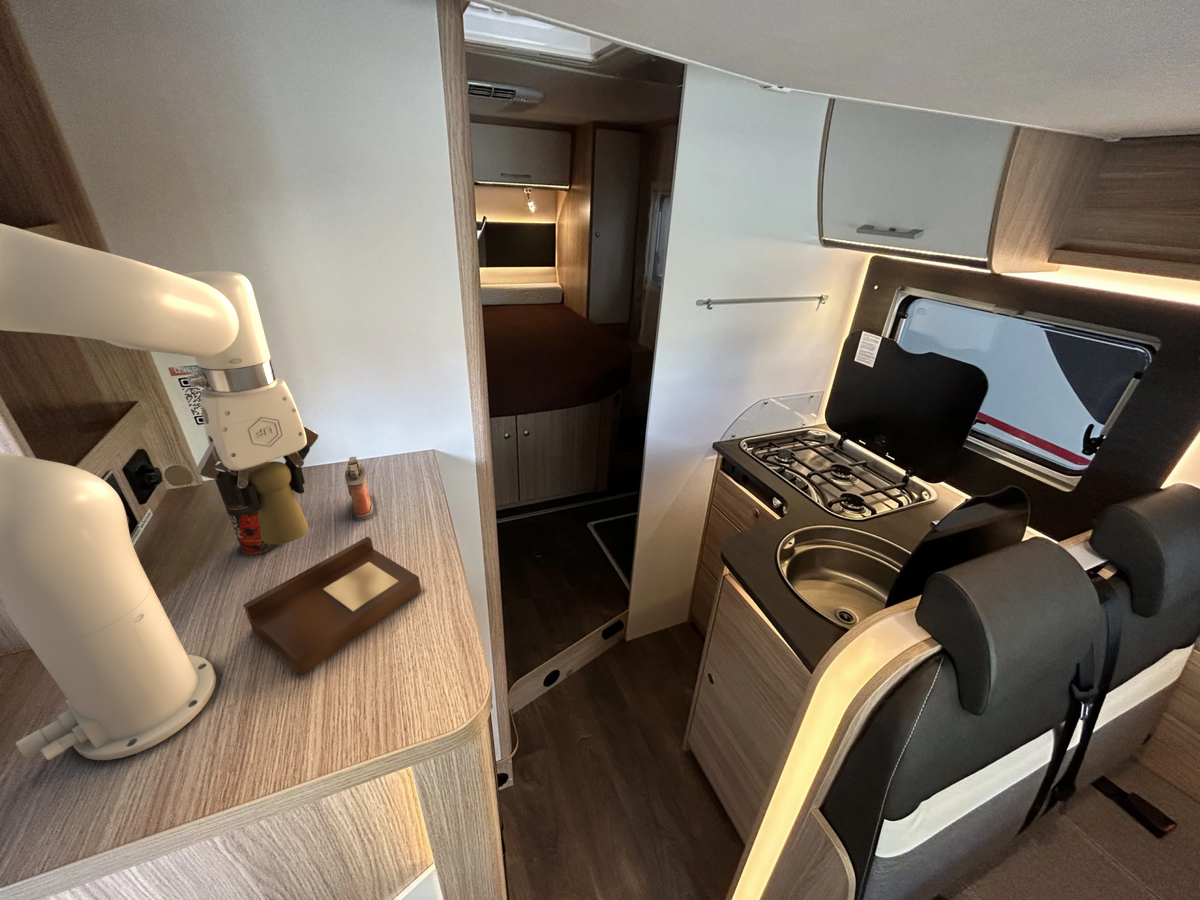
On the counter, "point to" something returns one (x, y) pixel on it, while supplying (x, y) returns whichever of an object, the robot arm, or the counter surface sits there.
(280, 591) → the shelf
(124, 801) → the counter surface
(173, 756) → the counter surface
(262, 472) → the cork
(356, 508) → the lighter
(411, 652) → the counter surface
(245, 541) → the deodorant
